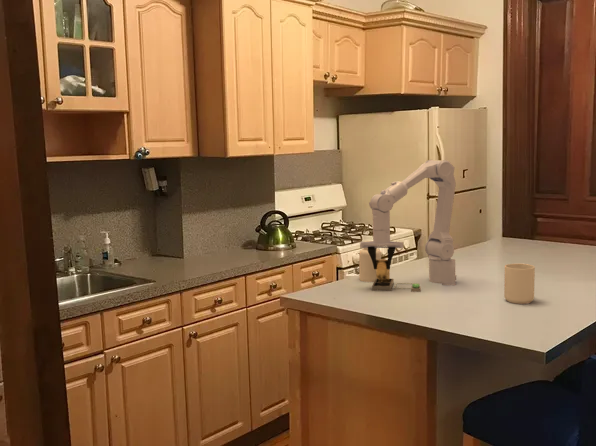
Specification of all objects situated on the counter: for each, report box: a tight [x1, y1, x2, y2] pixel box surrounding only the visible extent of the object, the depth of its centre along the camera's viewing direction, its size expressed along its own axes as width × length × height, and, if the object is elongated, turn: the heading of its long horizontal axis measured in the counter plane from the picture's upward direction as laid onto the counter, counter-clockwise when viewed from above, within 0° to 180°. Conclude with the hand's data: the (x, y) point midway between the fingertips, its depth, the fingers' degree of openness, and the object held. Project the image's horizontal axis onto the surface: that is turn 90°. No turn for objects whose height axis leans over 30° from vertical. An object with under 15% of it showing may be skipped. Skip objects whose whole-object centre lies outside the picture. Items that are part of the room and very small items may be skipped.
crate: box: [371, 278, 395, 292], centre depth 222 cm, size 7×12×2 cm, turn 167°
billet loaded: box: [378, 268, 391, 282], centre depth 224 cm, size 4×4×6 cm
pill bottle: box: [358, 240, 382, 283], centre depth 233 cm, size 8×8×15 cm
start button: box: [411, 283, 421, 288], centre depth 214 cm, size 2×2×3 cm
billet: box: [376, 258, 388, 279], centre depth 218 cm, size 4×4×6 cm
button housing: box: [410, 286, 422, 293], centre depth 214 cm, size 3×3×2 cm
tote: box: [393, 282, 420, 290], centre depth 221 cm, size 8×8×1 cm
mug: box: [503, 263, 536, 305], centre depth 201 cm, size 12×9×11 cm
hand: (381, 268), depth 218 cm, fingers closed on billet, 4 cm apart
